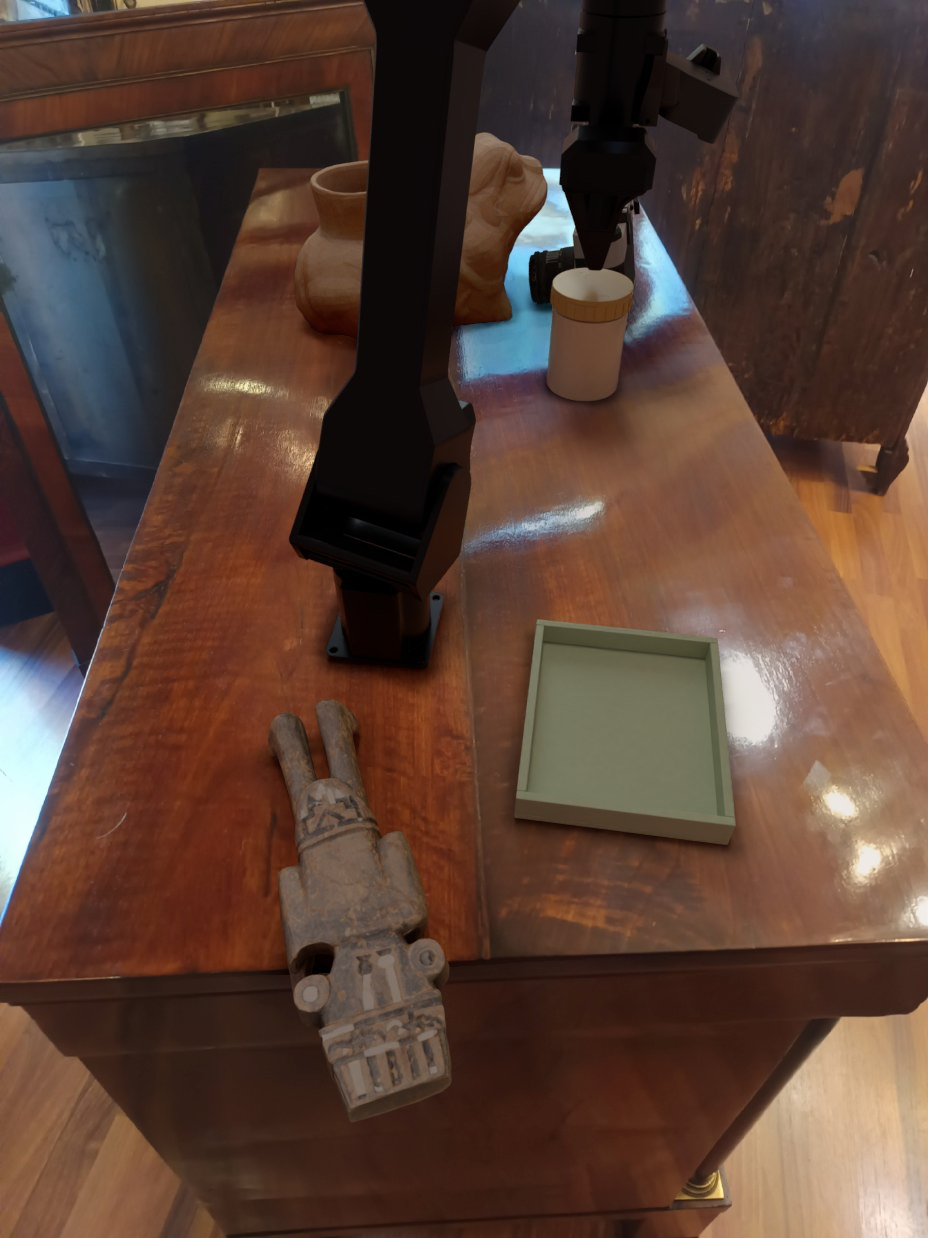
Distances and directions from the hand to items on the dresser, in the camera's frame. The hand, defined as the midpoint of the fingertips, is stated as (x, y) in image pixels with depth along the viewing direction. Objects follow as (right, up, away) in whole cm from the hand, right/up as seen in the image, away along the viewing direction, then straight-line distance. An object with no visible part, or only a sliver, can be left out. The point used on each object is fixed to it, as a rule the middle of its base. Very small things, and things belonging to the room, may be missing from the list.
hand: (596, 247), depth 66 cm
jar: (0, -8, +9) cm, 12 cm away
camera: (+1, +4, +21) cm, 21 cm away
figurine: (-16, -41, -29) cm, 53 cm away
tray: (-2, -36, -19) cm, 41 cm away
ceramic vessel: (-15, +2, +19) cm, 25 cm away
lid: (0, -2, +2) cm, 3 cm away
